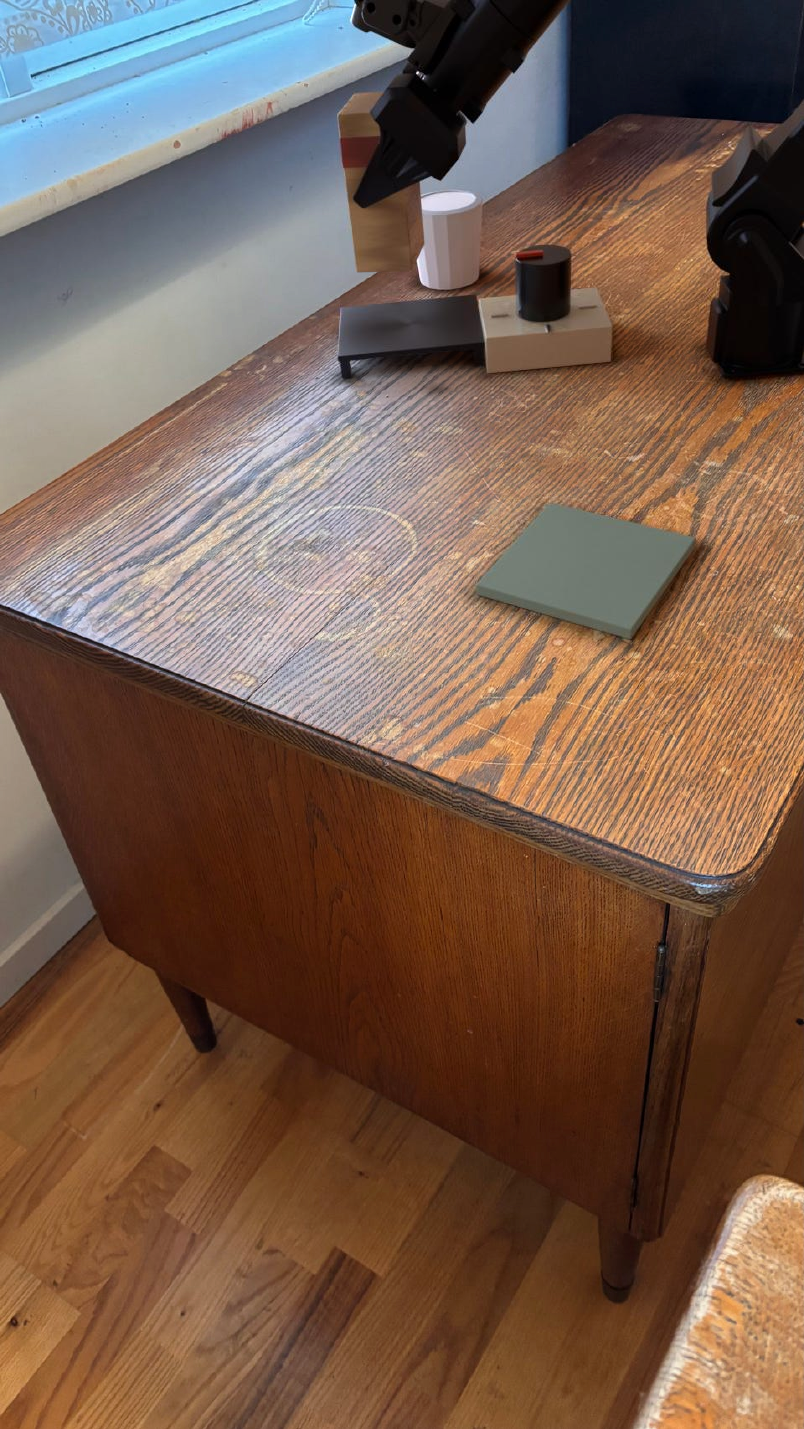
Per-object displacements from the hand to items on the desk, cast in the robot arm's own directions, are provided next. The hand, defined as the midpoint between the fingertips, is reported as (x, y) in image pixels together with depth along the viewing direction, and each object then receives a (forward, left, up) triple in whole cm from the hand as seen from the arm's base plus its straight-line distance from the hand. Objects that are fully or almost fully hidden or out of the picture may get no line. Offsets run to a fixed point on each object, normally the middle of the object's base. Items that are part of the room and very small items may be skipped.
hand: (366, 190), depth 79 cm
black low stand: (-2, -2, -13) cm, 14 cm away
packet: (-1, 0, -5) cm, 5 cm away
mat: (-12, +32, -13) cm, 37 cm away
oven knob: (-13, 0, -10) cm, 17 cm away
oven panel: (-13, 0, -13) cm, 19 cm away
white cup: (-6, -17, -14) cm, 22 cm away
